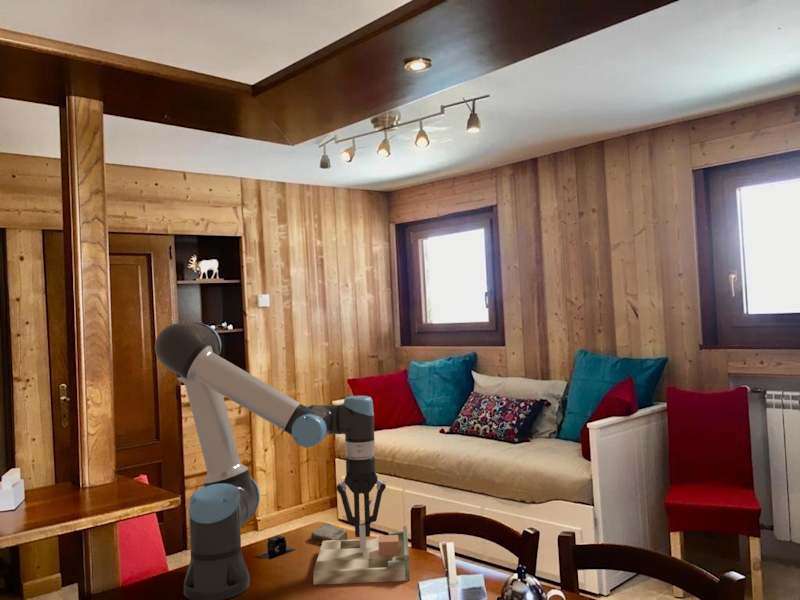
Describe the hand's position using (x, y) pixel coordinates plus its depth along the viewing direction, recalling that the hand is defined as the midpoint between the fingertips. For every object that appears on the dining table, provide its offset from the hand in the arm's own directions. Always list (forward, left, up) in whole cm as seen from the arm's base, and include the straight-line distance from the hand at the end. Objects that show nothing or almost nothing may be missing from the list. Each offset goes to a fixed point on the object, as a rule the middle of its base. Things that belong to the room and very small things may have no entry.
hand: (363, 549), depth 168 cm
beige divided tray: (0, 0, -4) cm, 4 cm away
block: (+7, 0, -1) cm, 7 cm away
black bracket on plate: (-24, +12, -5) cm, 28 cm away
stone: (-11, +21, -5) cm, 24 cm away
